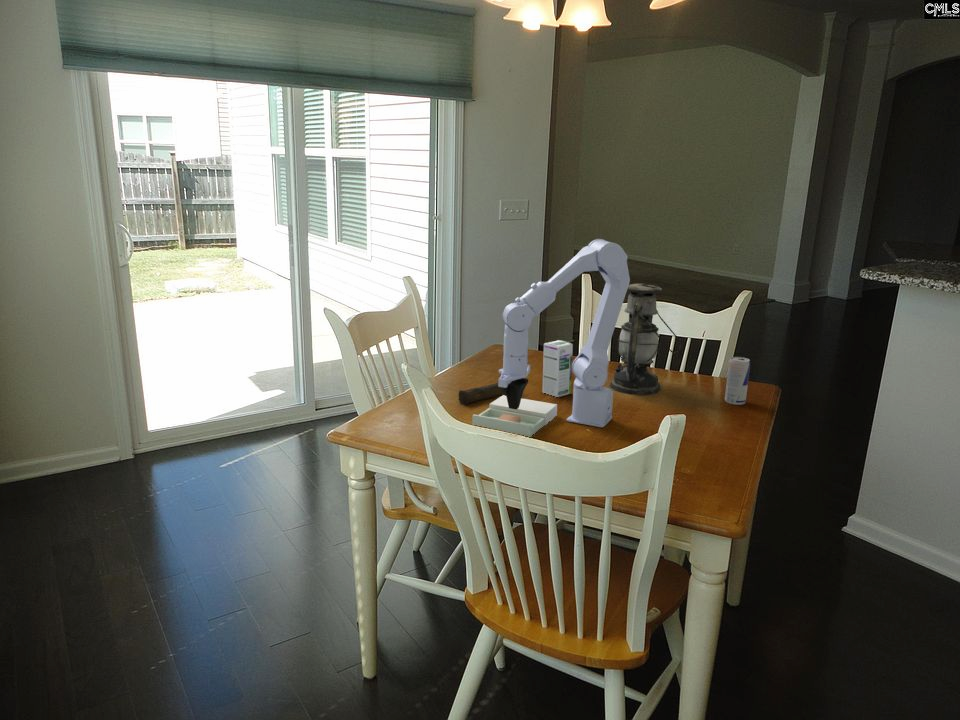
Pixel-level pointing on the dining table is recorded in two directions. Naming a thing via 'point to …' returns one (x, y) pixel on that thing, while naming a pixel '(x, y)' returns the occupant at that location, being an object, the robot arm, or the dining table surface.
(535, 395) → the dining table surface
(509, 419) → the terracotta tile
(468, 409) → the dining table surface
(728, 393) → the energy drink
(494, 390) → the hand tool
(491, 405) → the white drawer casing
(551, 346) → the syrup box
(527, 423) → the tray
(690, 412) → the dining table surface
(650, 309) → the lantern
